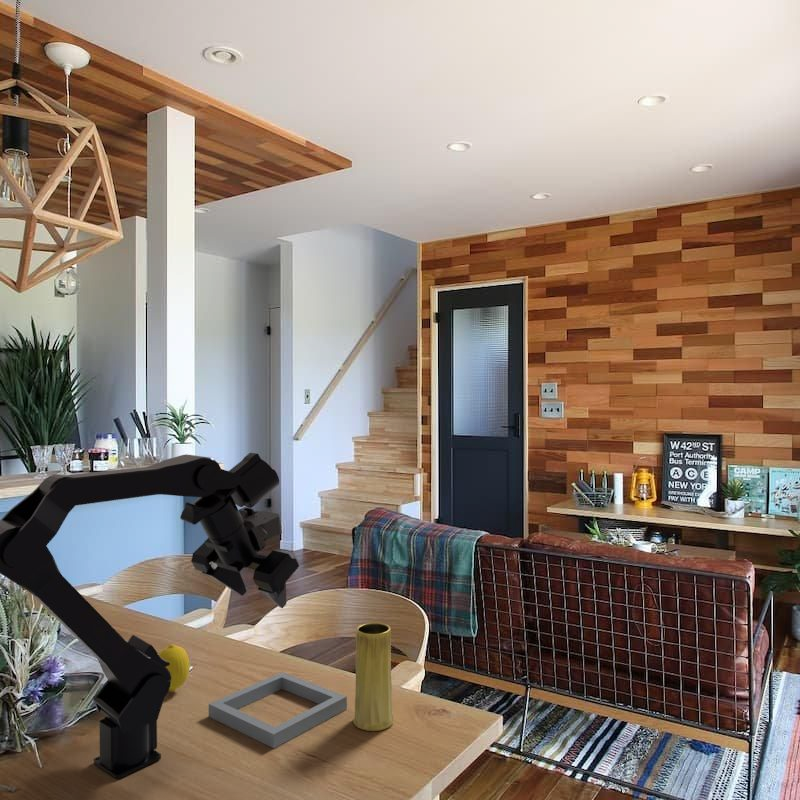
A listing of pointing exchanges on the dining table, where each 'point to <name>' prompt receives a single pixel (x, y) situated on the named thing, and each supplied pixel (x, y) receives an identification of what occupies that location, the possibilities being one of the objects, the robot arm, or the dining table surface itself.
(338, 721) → the dining table surface
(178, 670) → the lemon
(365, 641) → the vase
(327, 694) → the stand
